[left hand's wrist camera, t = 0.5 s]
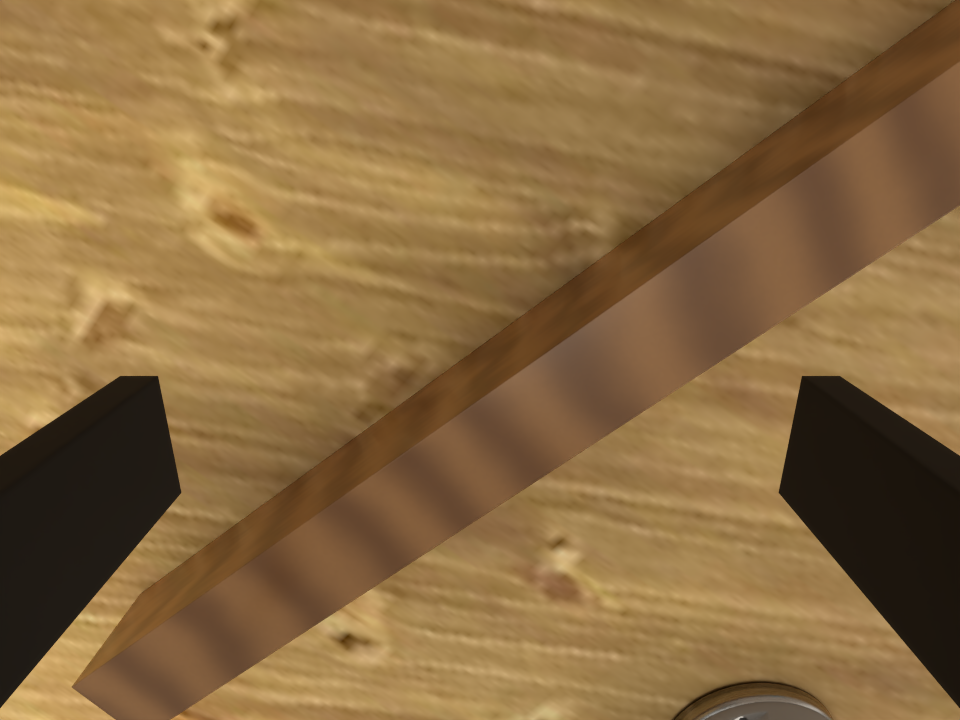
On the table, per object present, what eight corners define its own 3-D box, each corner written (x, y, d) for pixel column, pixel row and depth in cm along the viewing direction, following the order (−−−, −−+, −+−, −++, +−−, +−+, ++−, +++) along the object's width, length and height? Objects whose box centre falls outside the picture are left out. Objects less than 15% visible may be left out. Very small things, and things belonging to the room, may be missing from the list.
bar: (994, -29, 33) (1161, -82, 25) (1033, 67, 34) (1202, 48, 26) (139, 594, 48) (71, 687, 40) (196, 640, 49) (141, 738, 41)
